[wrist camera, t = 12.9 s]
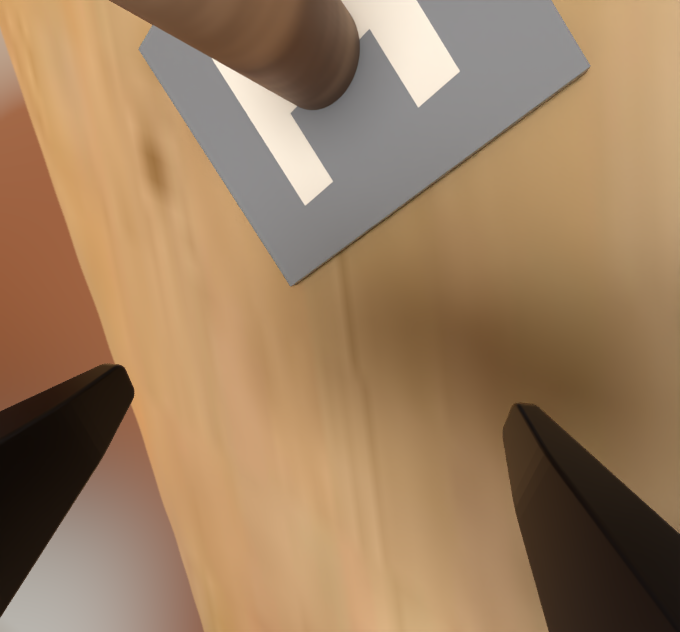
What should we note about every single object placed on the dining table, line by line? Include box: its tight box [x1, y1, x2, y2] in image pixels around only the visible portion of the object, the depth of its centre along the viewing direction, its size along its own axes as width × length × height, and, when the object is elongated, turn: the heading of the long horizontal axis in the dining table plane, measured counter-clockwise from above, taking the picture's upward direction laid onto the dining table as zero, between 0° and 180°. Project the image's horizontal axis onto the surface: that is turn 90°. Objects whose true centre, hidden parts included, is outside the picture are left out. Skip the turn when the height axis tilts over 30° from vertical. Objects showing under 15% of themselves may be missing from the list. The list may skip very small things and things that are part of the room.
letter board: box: [139, 0, 590, 286], centre depth 16 cm, size 16×16×1 cm
